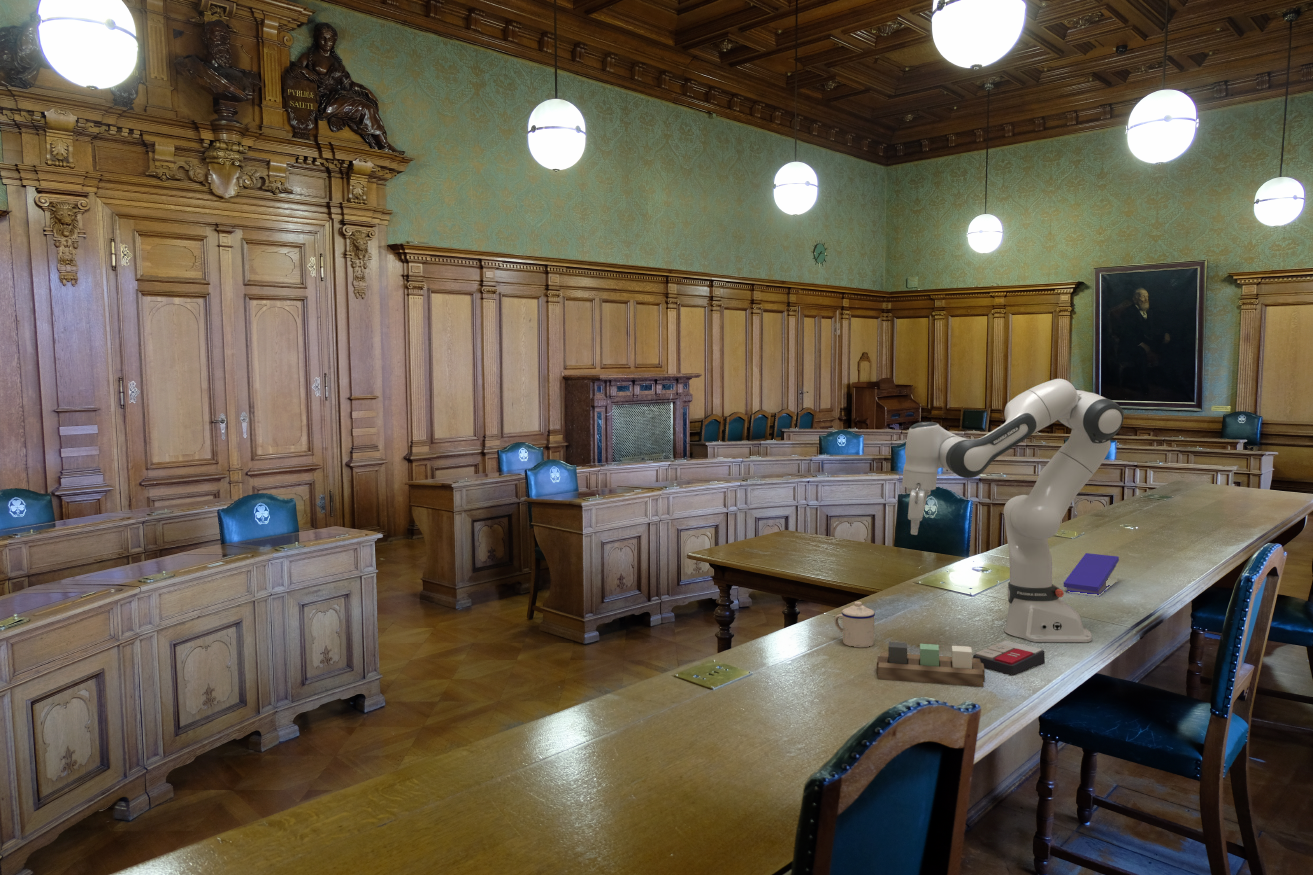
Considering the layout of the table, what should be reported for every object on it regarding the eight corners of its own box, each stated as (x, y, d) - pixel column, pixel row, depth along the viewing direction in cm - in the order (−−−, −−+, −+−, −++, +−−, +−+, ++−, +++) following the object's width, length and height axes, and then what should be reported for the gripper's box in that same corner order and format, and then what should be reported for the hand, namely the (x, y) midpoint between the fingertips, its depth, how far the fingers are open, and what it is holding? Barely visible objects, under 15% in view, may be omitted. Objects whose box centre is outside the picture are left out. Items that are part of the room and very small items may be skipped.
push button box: (972, 652, 209) (1005, 637, 218) (972, 668, 209) (1005, 653, 218) (1012, 662, 200) (1045, 647, 209) (1012, 679, 201) (1045, 663, 209)
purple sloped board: (1119, 582, 294) (1119, 555, 293) (1100, 598, 273) (1100, 569, 272) (1084, 578, 301) (1084, 552, 301) (1063, 593, 280) (1063, 565, 280)
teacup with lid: (881, 642, 230) (880, 601, 230) (865, 650, 224) (864, 607, 223) (843, 634, 238) (842, 595, 238) (826, 642, 232) (826, 601, 231)
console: (982, 670, 205) (982, 658, 205) (985, 686, 193) (985, 674, 193) (878, 663, 212) (878, 651, 212) (876, 678, 201) (876, 666, 201)
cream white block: (971, 666, 202) (970, 646, 202) (972, 672, 198) (971, 652, 198) (952, 665, 203) (951, 645, 203) (952, 671, 199) (952, 650, 199)
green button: (938, 664, 204) (938, 644, 204) (939, 670, 200) (939, 649, 200) (920, 663, 206) (920, 643, 205) (920, 668, 201) (920, 648, 201)
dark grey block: (907, 662, 207) (907, 642, 206) (907, 667, 202) (906, 647, 202) (889, 660, 208) (889, 641, 208) (888, 666, 204) (888, 646, 203)
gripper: (930, 488, 213) (925, 540, 215) (932, 476, 232) (928, 524, 234) (905, 485, 215) (900, 537, 217) (909, 474, 235) (905, 521, 236)
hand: (914, 530), depth 226 cm, fingers open, 8 cm apart
